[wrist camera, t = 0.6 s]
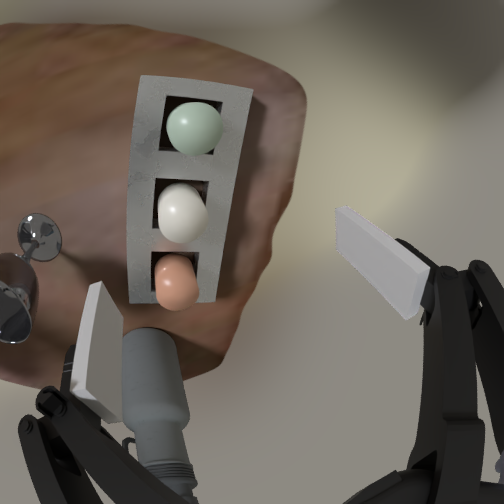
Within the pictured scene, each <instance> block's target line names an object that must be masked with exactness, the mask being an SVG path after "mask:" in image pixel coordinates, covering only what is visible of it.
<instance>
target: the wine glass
mask: <svg viewBox="0 0 504 504" xmlns="http://www.w3.org/2000/svg"><path fill="white" fill-rule="evenodd" d="M17 233H18V242H19V245H20V247H21V249H22V250H23V252H24V254H23V255H22V256H20V255H17V254H14V253H1V254H0V341H1V342H4V343H9V344H18V343H21V342H23V341H25V340H26V339H27V338H28V336H29V335H30V332H31V329H32V326H33V323H34V320H35V316H36V313H37V307H38V300H39V283H38V278H37V276H36V273H35V271H34V269H33V268H32V266H31V265H30V259H33V260H35V261H39V262H47V261H50V260H52V259H54V258H55V257H56V256H57V255H58V253H59V251H60V249H61V242H62V240H61V235H60V231H59V229H58V227H57V226H56V224H55V223H54V222H53V221H52V220H51V219H50V218H49V217H47V216H45V215H43V214H38V213H33V214H30V215H27V216H26V217H25V218H23V220H22V221H21V222H20V224H19V227H18V232H17Z"/></svg>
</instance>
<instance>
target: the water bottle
mask: <svg viewBox="0 0 504 504" xmlns="http://www.w3.org/2000/svg"><path fill="white" fill-rule="evenodd" d="M121 378H122V417H123V423H124V424H125V425H126V427H127V428H128V429H130V430H131V431H133V432H134V434H135V439H134V438H130V437H128V438H125V439H124V440H123V441H122V447H123V448H124V449H125V450H126V451H127V452H128V453H129V451H128V444H129V443H130V442H131V443H136V449H137V456H138V462H139V463H140V464H141V465H142V466H143V467H145V468H146V469H147V470H148V471H149V472H150V473H152V474H153V475H154V476H155V477H156V478H158V479H159V480H160V481H161V482H163V483H164V484H165V485H166V486H168V487H169V488H170V489H171V490H173V491H174V492H175V493H177V494H178V495H179V496H181V497H182V498H184V499H185V500H186V501H188V502H189V503H191V504H199V503H198V500H197V497H194V496H193V493H192V489H194V488H195V487H196V486H197V484H198V483H197V480H196V479H195V475H194V471H193V465H192V464H191V463H190V462H189V458H188V454H187V450H186V446H185V442H184V438H183V433H182V430H183V429H184V428H185V427H186V425H187V424H188V422H189V420H190V413H189V408H188V404H187V399H186V394H185V390H184V385H183V380H182V376H181V371H180V365H179V360H178V355H177V349H176V345H175V342H174V341H173V339H172V338H171V337H170V336H169V335H168V334H167V333H165V332H163V331H161V330H158V329H155V328H139V329H135V330H132V331H130V332H129V333H127V334H126V335H125V336H124V337H123V338H122V375H121Z"/></svg>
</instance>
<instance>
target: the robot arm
mask: <svg viewBox="0 0 504 504" xmlns="http://www.w3.org/2000/svg"><path fill="white" fill-rule="evenodd" d="M335 213H336V250H337V251H338V252H339V253H340V254H341V255H342V256H343V257H344V258H345V259H346V260H347V261H348V262H349V263H350V264H351V265H352V266H353V267H355V269H357V270H358V271H359V272H360V273H361V274H362V275H363V276H364V277H365V278H366V279H367V280H368V281H369V282H370V284H372V285H373V287H374V288H376V289H377V291H378V292H379V293H380V294H381V295H382V296H383V297H384V298H385V299H386V300H387V301H388V302H389V303H390V304H391V305H392V306H393V307H394V308H395V309H396V310H397V311H398V313H399V314H400V315H401V316H402V317H403V318H404V319H405V320H407V319H409V318H411V317H413V316H414V315H416V314H417V313H418V310H419V306H420V305H421V306H422V307H423V308H424V312H423V315H422V318H421V321H420V325H422V322H423V323H424V324H423V325H424V356H423V380H422V394H421V405H420V414H419V422H418V429H417V430H418V431H417V436H416V442H415V445H414V448H413V450H412V452H411V454H410V457H409V460H408V465H407V469H406V470H404V471H399V472H397V471H396V470H395V471H393V472H391V473H390V474H388V475H387V476H385V477H383V478H381V479H379V480H378V481H376V482H374V483H372V484H370V485H369V486H367V487H365V488H364V489H362V490H361V491H359V492H357V493H356V494H355V495H353V496H352V497H351V498H349V499H348V500H347V501H346V502H344V503H343V504H504V288H503V287H502V285H501V283H500V282H499V280H498V279H497V277H496V276H495V274H494V272H493V271H492V269H491V268H490V266H489V265H488V264H486V263H485V262H484V261H480V260H473V261H471V262H470V264H469V267H468V270H463V271H457V270H456V269H454V268H453V267H450V266H441V267H439V266H438V265H436V264H435V263H434V262H433V261H431V260H430V259H429V258H428V257H426V256H425V255H424V254H422V253H421V252H419V251H418V250H417V249H416V248H414V247H413V246H412V245H411V244H409V243H408V242H406V241H404V240H401V239H398V238H397V239H393V238H391V237H390V236H389V235H388V234H386V233H385V232H384V231H382V230H381V229H380V228H378V227H377V226H375V225H374V224H373V223H371V222H370V221H368V220H367V219H366V218H364V217H363V216H361V215H360V214H358V213H357V212H355V211H354V210H353V209H351V208H350V207H348V206H342V207H339V208H335ZM480 301H481V303H482V307H481V306H480V304H479V303H480ZM122 335H123V316H122V315H121V313H120V311H119V310H118V308H117V307H116V305H115V303H114V301H113V300H112V298H111V296H110V295H109V293H108V291H107V289H106V288H105V286H104V284H103V282H102V281H100V282H97V283H94V284H91V285H90V286H89V290H88V294H87V298H86V302H85V306H84V310H83V315H82V319H81V324H80V329H79V334H78V339H77V344H75V345H71V346H70V348H69V350H68V351H67V353H66V356H65V362H64V364H65V365H64V367H63V373H62V380H61V387H60V391H58V390H57V389H56V388H55V387H54V386H47V387H45V388H43V389H42V390H41V391H40V392H39V394H38V395H37V398H36V409H37V410H38V411H39V412H40V413H42V414H43V415H44V417H42V418H40V419H36V418H35V417H34V416H32V415H25V416H24V417H23V418H22V419H21V421H20V423H19V426H18V434H19V438H20V442H21V446H22V450H23V454H24V457H25V461H26V464H27V467H28V470H29V473H30V476H31V479H32V482H33V485H34V488H35V490H36V493H37V496H38V498H39V501H40V503H41V504H103V502H102V501H101V499H100V497H99V495H98V494H97V492H96V490H95V488H94V487H93V485H92V483H91V481H90V479H89V477H88V475H87V473H86V471H87V472H88V474H89V475H90V476H91V477H92V478H93V480H94V481H95V482H96V483H97V484H98V485H99V486H100V488H101V489H102V490H103V491H104V492H105V493H106V494H107V495H108V496H109V497H110V498H111V499H112V500H113V501H114V503H115V504H191V503H189V502H188V501H186V500H185V499H184V498H182V497H181V496H179V495H178V494H177V493H175V492H174V491H173V490H171V489H170V488H169V487H168V486H166V485H165V484H164V483H163V482H161V481H160V480H159V479H158V478H156V477H155V476H154V475H153V474H152V473H150V472H149V471H148V470H147V469H146V468H145V467H143V466H142V465H141V464H140V463H139V462H138V461H137V460H136V459H134V457H132V456H131V455H130V454H129V453H128V452H127V451H126V450H125V449H124V448H123V447H122V446H121V445H120V444H119V443H118V442H117V441H116V440H115V439H114V438H113V437H112V436H111V435H110V434H109V433H108V432H107V431H106V429H104V428H103V427H102V426H101V419H103V420H104V421H105V422H107V423H108V424H110V423H117V422H123V417H122V378H121V375H122ZM475 361H476V363H475ZM476 365H477V368H478V371H479V374H480V377H481V381H482V385H483V388H484V392H485V396H486V400H487V404H488V408H489V413H490V417H491V422H492V427H493V432H494V437H495V441H496V444H497V447H498V450H499V453H500V455H501V456H500V459H499V460H498V461H497V462H496V465H495V469H496V472H498V473H500V479H499V482H498V483H491V482H483V481H480V480H481V472H482V465H483V455H484V443H485V424H484V422H483V420H481V419H479V418H478V414H477V377H476ZM85 470H86V471H85Z"/></svg>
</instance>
